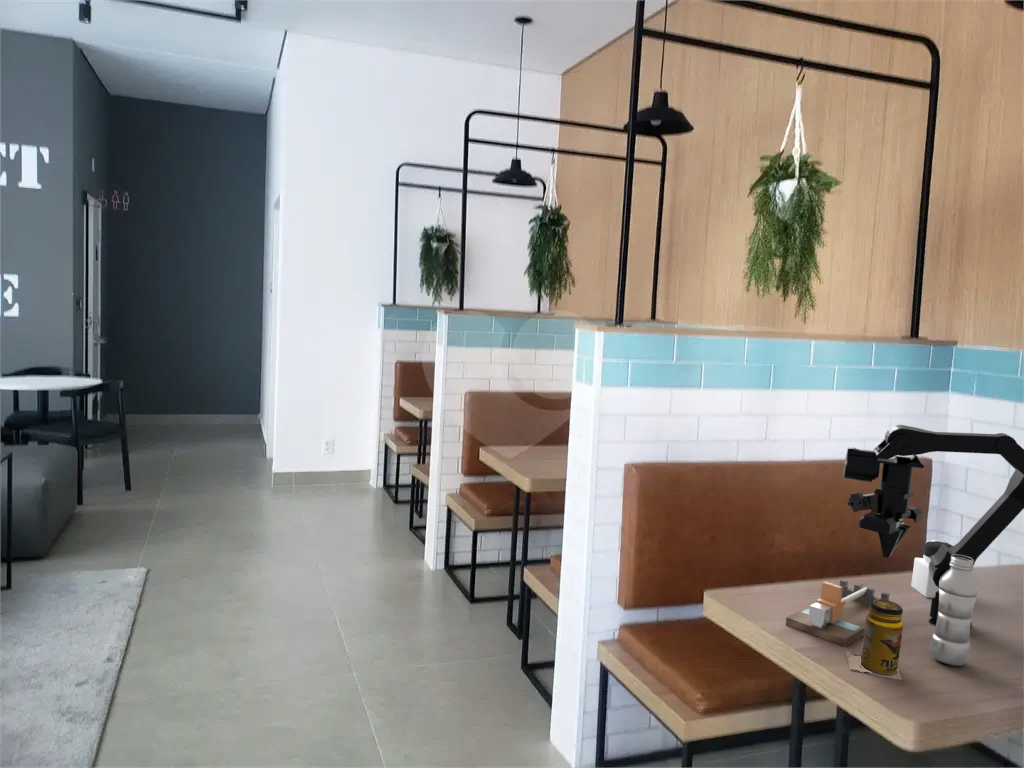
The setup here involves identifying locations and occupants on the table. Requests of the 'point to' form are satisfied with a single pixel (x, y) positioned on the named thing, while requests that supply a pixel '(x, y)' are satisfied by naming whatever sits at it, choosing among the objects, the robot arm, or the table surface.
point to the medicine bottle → (926, 570)
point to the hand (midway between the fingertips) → (886, 557)
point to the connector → (819, 615)
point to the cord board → (835, 623)
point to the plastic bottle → (955, 612)
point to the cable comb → (864, 598)
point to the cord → (855, 595)
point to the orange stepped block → (832, 600)
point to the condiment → (882, 639)
